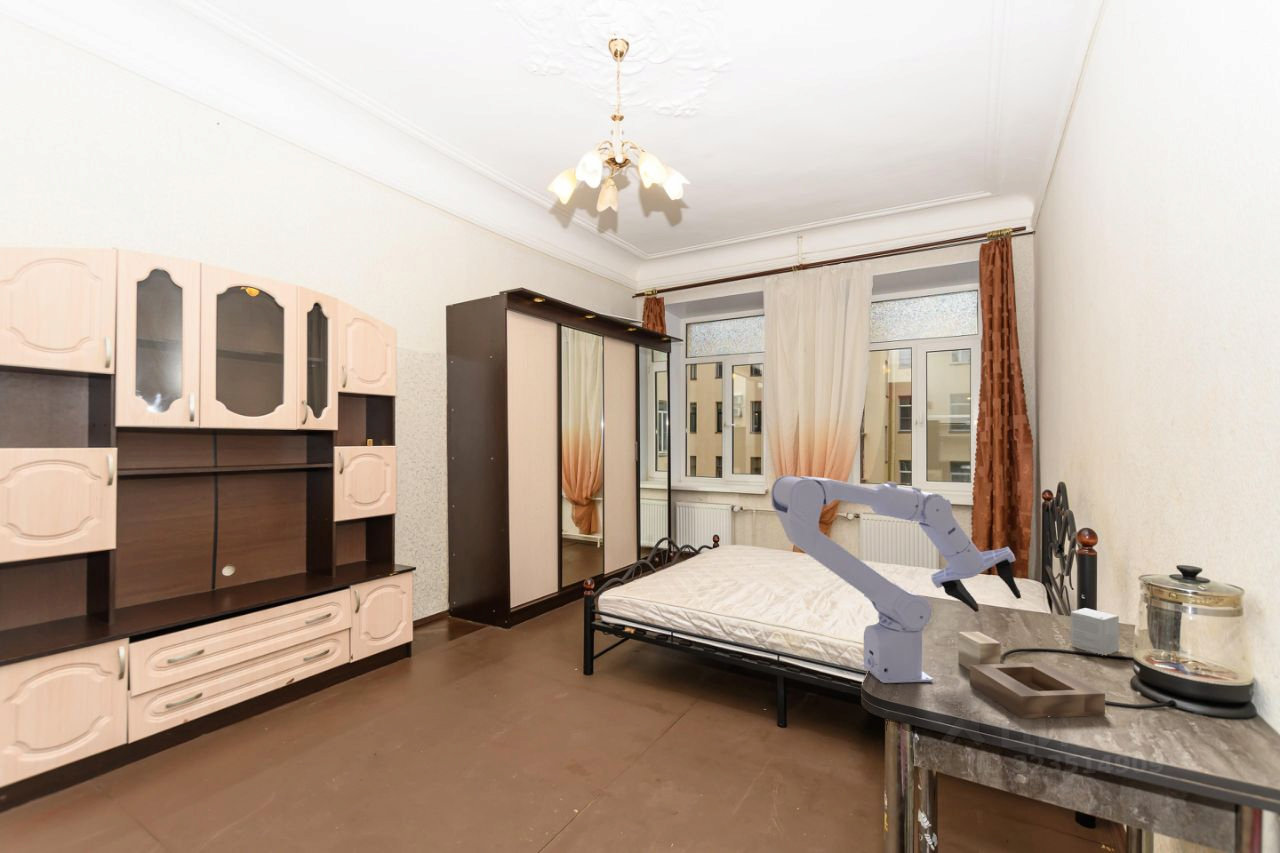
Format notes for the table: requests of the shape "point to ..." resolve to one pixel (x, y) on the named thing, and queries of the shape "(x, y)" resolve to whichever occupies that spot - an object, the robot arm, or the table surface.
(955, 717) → the table surface
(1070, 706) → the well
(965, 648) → the beige wooden block
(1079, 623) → the product box
